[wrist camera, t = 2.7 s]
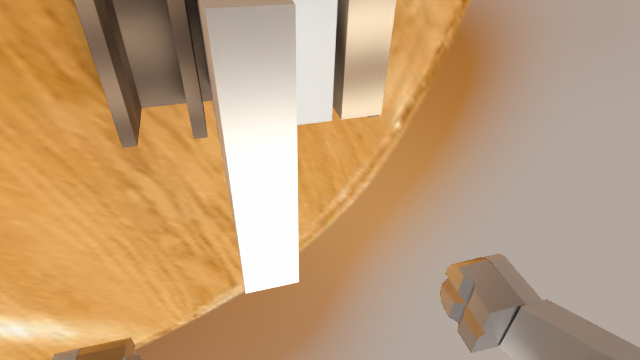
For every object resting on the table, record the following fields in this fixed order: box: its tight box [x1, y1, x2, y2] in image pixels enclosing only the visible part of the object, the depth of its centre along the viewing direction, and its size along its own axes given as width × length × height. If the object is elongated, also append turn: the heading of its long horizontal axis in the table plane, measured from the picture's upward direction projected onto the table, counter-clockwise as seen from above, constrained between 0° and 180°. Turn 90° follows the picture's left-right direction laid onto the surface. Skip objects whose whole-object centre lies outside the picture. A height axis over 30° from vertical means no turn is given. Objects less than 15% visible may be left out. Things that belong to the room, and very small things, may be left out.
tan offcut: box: [333, 0, 396, 119], centre depth 29 cm, size 10×3×10 cm, turn 178°
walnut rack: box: [74, 0, 379, 148], centre depth 30 cm, size 15×20×7 cm
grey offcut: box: [293, 0, 338, 125], centre depth 28 cm, size 10×3×10 cm, turn 178°
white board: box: [197, 0, 299, 293], centre depth 23 cm, size 12×2×22 cm, turn 178°
